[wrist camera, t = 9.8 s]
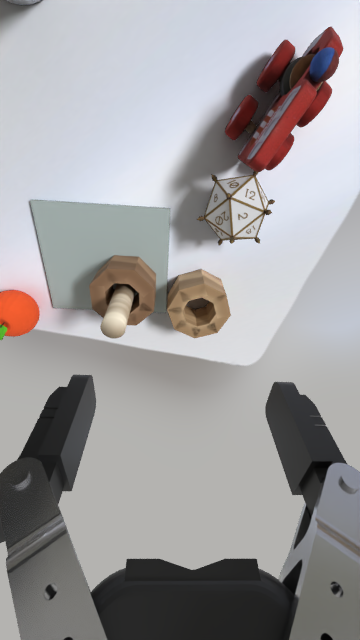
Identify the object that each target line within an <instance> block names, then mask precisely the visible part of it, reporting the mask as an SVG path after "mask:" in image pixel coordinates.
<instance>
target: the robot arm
mask: <svg viewBox="0 0 360 640" xmlns="http://www.w3.org/2000/svg"><path fill="white" fill-rule="evenodd" d="M7 1H8V2H10V3H15V4H19V5H31V4H34V3H36V2H39V1H41V0H7ZM95 408H96V398H95V391H94V384H93V377H92V376H91V375H73V376H72V377H71V380H70V382H69V384H68V386H67V387H59V388H57V389H56V390H55V391H54V392H53V393H52V394H51V395H50V397H49V398H48V400H47V402H46V404H45V406H44V410H42V413H41V414H40V418H39V419H38V421H37V423H36V425H35V427H34V429H33V431H32V433H31V435H30V437H29V439H28V441H27V443H26V445H25V447H24V449H23V451H22V453H21V455H20V457H19V458H18V459H17V461H15V462H13V463H11V464H10V465H8V466H7V467H6V468H5V469H4V470H3V471H2V472H1V473H0V543H1V542H4V541H6V546H7V551H8V557H7V559H6V566H7V573H8V578H9V583H10V588H11V593H12V598H13V603H14V607H15V612H16V618H17V623H18V627H19V632H20V637H21V640H360V472H359V471H358V470H356V469H355V468H353V467H352V466H350V465H348V464H347V463H346V461H345V460H344V458H343V456H342V454H341V452H340V450H339V448H338V447H337V445H336V443H335V441H334V440H333V437H332V435H331V434H330V432H329V430H328V428H327V427H326V426H325V425H326V424H325V423H324V421H323V419H322V418H321V415H320V413H319V412H318V410H317V408H316V406H315V404H314V403H313V402H312V401H311V400H310V399H309V398H308V397H307V396H306V395H300V394H299V392H298V390H297V388H296V386H295V385H294V383H291V382H274V384H273V386H272V389H271V392H270V395H269V397H268V400H267V403H266V418H267V421H268V424H269V427H270V430H271V433H272V436H273V439H274V442H275V445H276V448H277V451H278V454H279V457H280V460H281V463H282V465H283V468H284V471H285V474H286V477H287V480H288V483H289V486H290V489H291V492H292V495H303V497H304V500H305V504H304V507H303V510H302V513H301V516H300V519H299V523H298V526H297V529H296V533H295V536H294V539H293V542H292V546H291V549H290V552H289V554H288V557H287V559H286V561H285V563H284V565H283V568H282V570H281V573H280V576H279V579H276V578H275V577H273V576H272V575H270V574H269V573H267V572H265V571H263V570H261V569H258V564H257V559H224V560H221V561H218V562H215V563H213V564H210V565H207V566H204V567H202V568H199V569H196V570H190V569H187V568H184V567H181V566H178V565H175V564H172V563H169V562H167V561H164V560H161V559H127V562H126V568H124V569H122V570H119V571H117V572H115V573H113V574H112V575H110V576H109V577H107V578H106V579H104V580H103V581H102V582H101V583H100V584H99V585H97V586H96V587H95V588H94V589H93V591H92V592H90V589H89V586H88V584H87V581H86V578H85V576H84V573H83V571H82V568H81V565H80V562H79V560H78V557H77V554H76V552H75V549H74V547H73V544H72V541H71V539H70V536H69V533H68V530H67V528H66V525H65V522H64V520H63V517H62V514H61V512H60V509H59V507H58V503H59V500H60V497H61V494H62V491H72V488H73V484H74V481H75V477H76V474H77V471H78V467H79V464H80V461H81V457H82V454H83V450H84V447H85V444H86V440H87V437H88V433H89V430H90V427H91V423H92V420H93V417H94V413H95Z"/></svg>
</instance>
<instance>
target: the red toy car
mask: <svg viewBox="0 0 360 640" xmlns="http://www.w3.org/2000/svg"><path fill="white" fill-rule="evenodd" d="M342 51H343V46H342V43H341V40H340V37H339V36H338V35H337V33H336V32H335V31H334V29H333V28H332V27H328V28H327V29H326V30H325V31H324V32H323V33H322V34H320V35H319V36H318V37H317V38H315V39H314V41H313V42H312V43H311V44H310V46H309V47H308V48H307V50H306V51H305V53H304V54H303V56H302V57H300V58H297V59H296V60H294V61H293V62H292V63H290V61H291V59H292V58H293V56H294V54H295V47H294V46H293V45H292V44H291V43H290V42H289V41H288V40H284V41H283V42H282V43H281V44H280V45H279V47H278V48H277V49H276V51H275V52H274V54H273V55H272V57H271V58H270V60H269V61H268V63H267V64H266V66H265V67H264V69H263V71H262V73H261V74H260V76H259V78H258V80H257V86H258V87H259V88H260V89H261V90H262V91H264V92H265V93H266V92H268V91H269V90H270V89H271V88H272V87H273V86H274V84H275V83H276V82H277V81H278V80H279V81H280V91H279V92H278V94H277V95H276V97H275V99H274V100H273V102H272V103H271V105H270V106H269V108H268V109H267V111H266V112H265V114H264V115H263V117H262V119H261V120H260V122H259V123H258V124H257V126H256V125H255V123H253V122H252V121H251V119H252V117H253V115H254V114H255V112H256V110H257V108H258V101H257V100H256V99H255V98H254V97H252V96H251V95H247V96H246V97H245V98H244V100H243V101H242V102H241V104H240V105H239V107H238V108H237V110H236V111H235V113H234V114H233V116H232V118H231V119H230V121H229V123H228V125H227V127H226V129H225V133H226V135H227V136H228V137H230V138H231V139H232V140H236V139H237V138H238V137H239V136H240V135H241V134H242V133H243V131H244V130H246V131H247V132H248V133H249V134H250V136H249V138H248V139H247V141H246V143H245V144H244V146H243V147H242V149H241V151H240V153H239V154H238V159H239V160H241V161H242V162H243V163H245V164H246V165H247V166H249V167H250V168H251V169H253V170H254V171H257V172H261V171H262V170H264V169H266V170H272V169H273V168H275V167H276V166H277V165H278V164H279V163H280V162H281V161H282V160H283V159H284V157H285V156H286V155H287V153H288V152H289V150H290V149H291V147H292V145H293V142H294V136H293V135H292V134H291V131H292V130H293V128H294V127H295V126H296V125H297V126H299V127H304V126H305V125H307V124H308V123H309V122H311V121H312V120H313V119H314V118H315V117H316V116H317V115H318V113H319V112H320V111H321V110H322V109H323V107H324V106H325V104H326V103H327V101H328V100H329V98H330V96H331V94H332V89H331V87H330V86H329V85H328V84H327V83H326V80H327V79H329V78H330V77H331V76H332V75H333V74H334V73H335V71H336V69H337V67H338V63H339V57H340V55H341V53H342Z"/></svg>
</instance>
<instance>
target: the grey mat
mask: <svg viewBox="0 0 360 640" xmlns="http://www.w3.org/2000/svg"><path fill="white" fill-rule="evenodd" d="M30 203H31V207H32V212H33V216H34V221H35V226H36V230H37V235H38V239H39V244H40V248H41V253H42V257H43V262H44V267H45V271H46V276H47V280H48V285H49V289H50V294H51V298H52V303H53V308H68V309H90V310H93V309H92V304H91V296H90V288H89V285H90V283H91V282H92V280H93V278H94V277H95V275H96V273H97V272H98V270H99V269H100V268H101V267H102V266H103V265H104V264H105V263H107V262H108V261H109V260H110V259H111V258H112V257H113V256H114V255H119V256H137V257H140V258H141V259H142V260H143V261H144V262H145V263H146V264H147V265H148V266H149V267H150V268H151V269H152V270H153V271H154V272H155V273H156V298H155V306H154V312H158V313H166V300H167V276H168V252H169V228H170V208H157V207H142V206H126V205H110V204H95V203H79V202H63V201H47V200H30ZM116 286H117V283H114V284H113V289H115V288H116ZM137 294H138V292H137V291H136V290H135V294H134V297H135V296H136V295H137Z"/></svg>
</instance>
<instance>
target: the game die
mask: <svg viewBox="0 0 360 640" xmlns="http://www.w3.org/2000/svg"><path fill="white" fill-rule="evenodd" d="M257 174H258V172H257V171H254V172H253V175H249V176H242V177H235V178H229V179H222V180H217V177H216V175H212V174H211V175H212V179H213V181H215V184H214V187H213V190H212V193H211V196H210V199H209V202H208V205H207V209H206V212H205V215H204V217H202V216H201V217H199V218H198V219H197V220H199V221H203V220H204V219H205V220H206V222H207V223H208V224H209V225H210V227H211V228H212V229H213V230H214V232H215V233H216V234H217V235H218V237H219V238H220V240H219V242H218V245H221V244H222V241H223V240H230V243H231V244H232V243H233V242H234V240H237V239H253V238H254V239H255V241H256V242H257V243H260V239H259V238H258V237H257V235H258V232H259V229H260V227H261V224H262V221H263V219H264V216H265V214H266V215H269V214H270V213H272V212H271V211H270V210H267V207H268V205H269V204H273V203H274V202H275V201H274V200H270V201H268V200H267V198H266V196H265V194H264V192H263V190H262V188H261V186H260V184H259V182H258V180H257V178H256V175H257Z"/></svg>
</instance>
